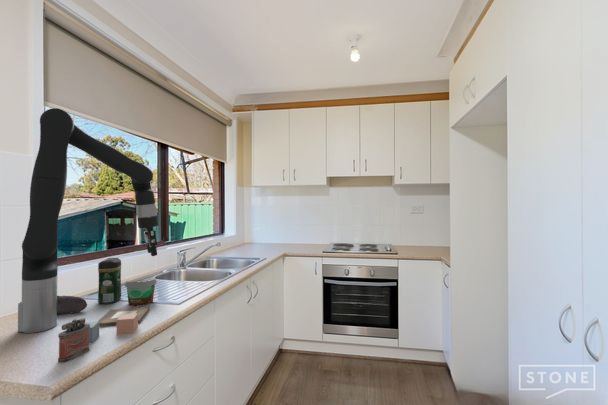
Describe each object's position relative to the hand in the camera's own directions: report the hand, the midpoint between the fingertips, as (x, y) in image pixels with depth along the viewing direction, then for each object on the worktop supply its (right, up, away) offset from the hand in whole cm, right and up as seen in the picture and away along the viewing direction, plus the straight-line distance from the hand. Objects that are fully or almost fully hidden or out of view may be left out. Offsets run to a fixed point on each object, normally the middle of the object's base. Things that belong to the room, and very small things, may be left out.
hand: (152, 254), depth 126 cm
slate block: (-5, -22, -31) cm, 38 cm away
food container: (-7, -22, +2) cm, 23 cm away
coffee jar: (-22, -22, +7) cm, 32 cm away
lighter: (-2, -22, -41) cm, 46 cm away
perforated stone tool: (-30, -22, -8) cm, 38 cm away
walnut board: (-4, -22, -12) cm, 25 cm away
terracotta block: (+4, -22, -24) cm, 33 cm away
